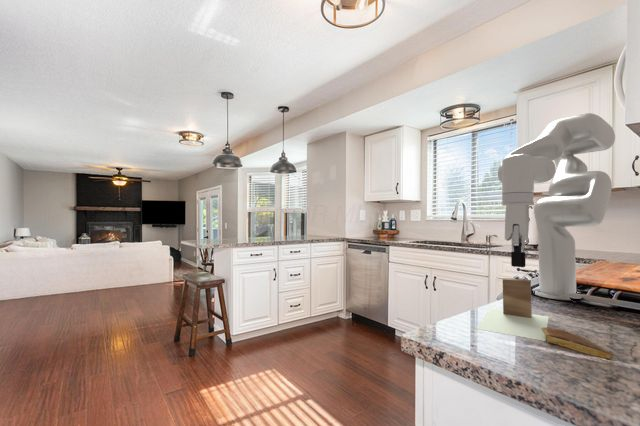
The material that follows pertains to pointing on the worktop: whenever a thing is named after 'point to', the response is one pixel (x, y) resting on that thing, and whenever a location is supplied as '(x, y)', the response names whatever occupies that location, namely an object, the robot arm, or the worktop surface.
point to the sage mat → (514, 324)
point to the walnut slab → (517, 297)
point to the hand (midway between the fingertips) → (518, 266)
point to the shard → (574, 342)
